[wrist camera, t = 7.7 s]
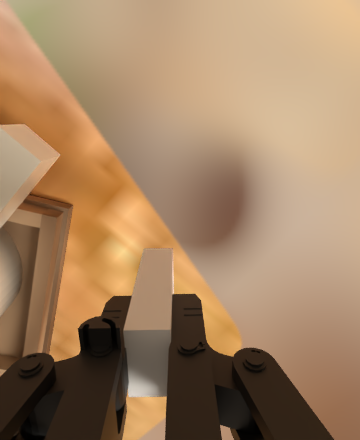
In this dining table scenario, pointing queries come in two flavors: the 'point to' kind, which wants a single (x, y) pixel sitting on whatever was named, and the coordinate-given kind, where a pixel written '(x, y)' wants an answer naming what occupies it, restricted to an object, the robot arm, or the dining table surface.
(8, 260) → the white pot with handle
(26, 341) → the brown flat rectangular tray
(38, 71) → the dining table surface
